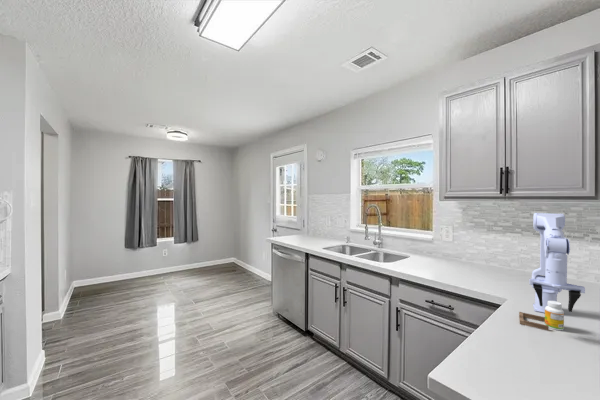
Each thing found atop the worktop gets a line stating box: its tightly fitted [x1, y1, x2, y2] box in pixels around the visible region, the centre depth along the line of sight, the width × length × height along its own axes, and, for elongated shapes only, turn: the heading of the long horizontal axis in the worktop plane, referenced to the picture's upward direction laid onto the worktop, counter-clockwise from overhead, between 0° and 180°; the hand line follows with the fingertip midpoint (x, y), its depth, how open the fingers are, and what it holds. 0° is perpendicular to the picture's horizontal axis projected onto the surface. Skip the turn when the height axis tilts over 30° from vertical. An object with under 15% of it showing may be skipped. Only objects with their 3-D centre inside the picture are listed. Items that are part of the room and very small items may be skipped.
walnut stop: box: [518, 311, 550, 331], centre depth 108 cm, size 10×8×2 cm
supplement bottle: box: [544, 301, 565, 331], centre depth 104 cm, size 5×5×10 cm
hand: (555, 308), depth 98 cm, fingers open, 7 cm apart
